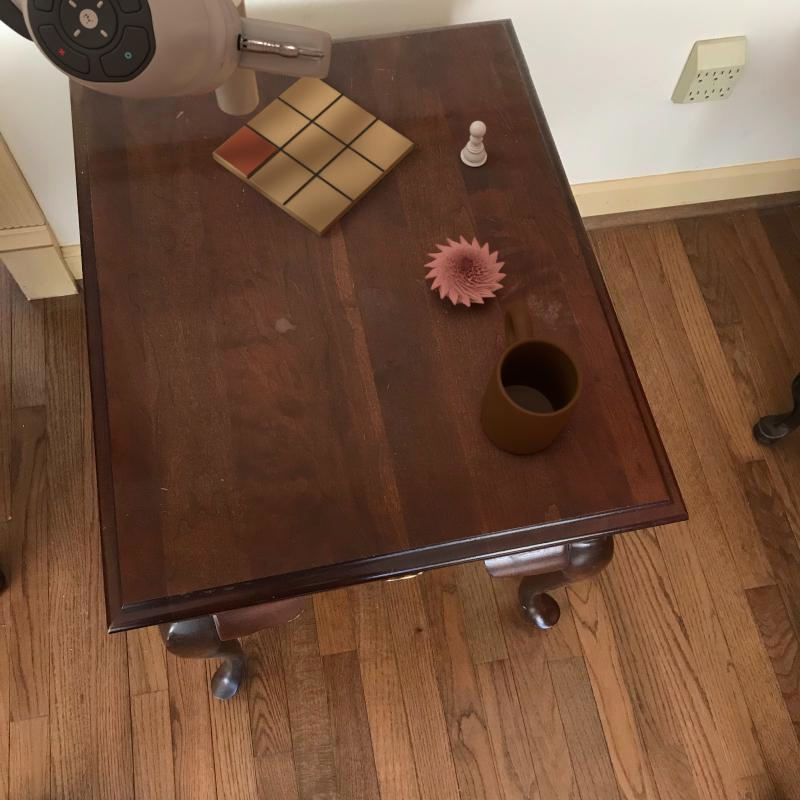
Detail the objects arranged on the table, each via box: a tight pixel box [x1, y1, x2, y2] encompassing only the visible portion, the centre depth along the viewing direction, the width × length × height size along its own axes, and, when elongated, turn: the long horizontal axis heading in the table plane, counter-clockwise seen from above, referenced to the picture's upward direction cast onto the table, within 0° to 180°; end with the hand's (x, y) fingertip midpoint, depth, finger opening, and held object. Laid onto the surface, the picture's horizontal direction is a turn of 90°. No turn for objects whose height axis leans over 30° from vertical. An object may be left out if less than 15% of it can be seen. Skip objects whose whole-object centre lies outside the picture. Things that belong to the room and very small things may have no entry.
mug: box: [480, 301, 584, 455], centre depth 74 cm, size 12×8×9 cm, turn 10°
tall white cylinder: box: [214, 0, 260, 117], centre depth 75 cm, size 4×4×12 cm
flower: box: [423, 235, 507, 308], centre depth 80 cm, size 8×8×6 cm
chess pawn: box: [460, 120, 488, 168], centre depth 87 cm, size 3×3×5 cm
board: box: [211, 77, 414, 238], centre depth 88 cm, size 15×15×1 cm
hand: (229, 41), depth 75 cm, fingers closed on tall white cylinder, 4 cm apart
